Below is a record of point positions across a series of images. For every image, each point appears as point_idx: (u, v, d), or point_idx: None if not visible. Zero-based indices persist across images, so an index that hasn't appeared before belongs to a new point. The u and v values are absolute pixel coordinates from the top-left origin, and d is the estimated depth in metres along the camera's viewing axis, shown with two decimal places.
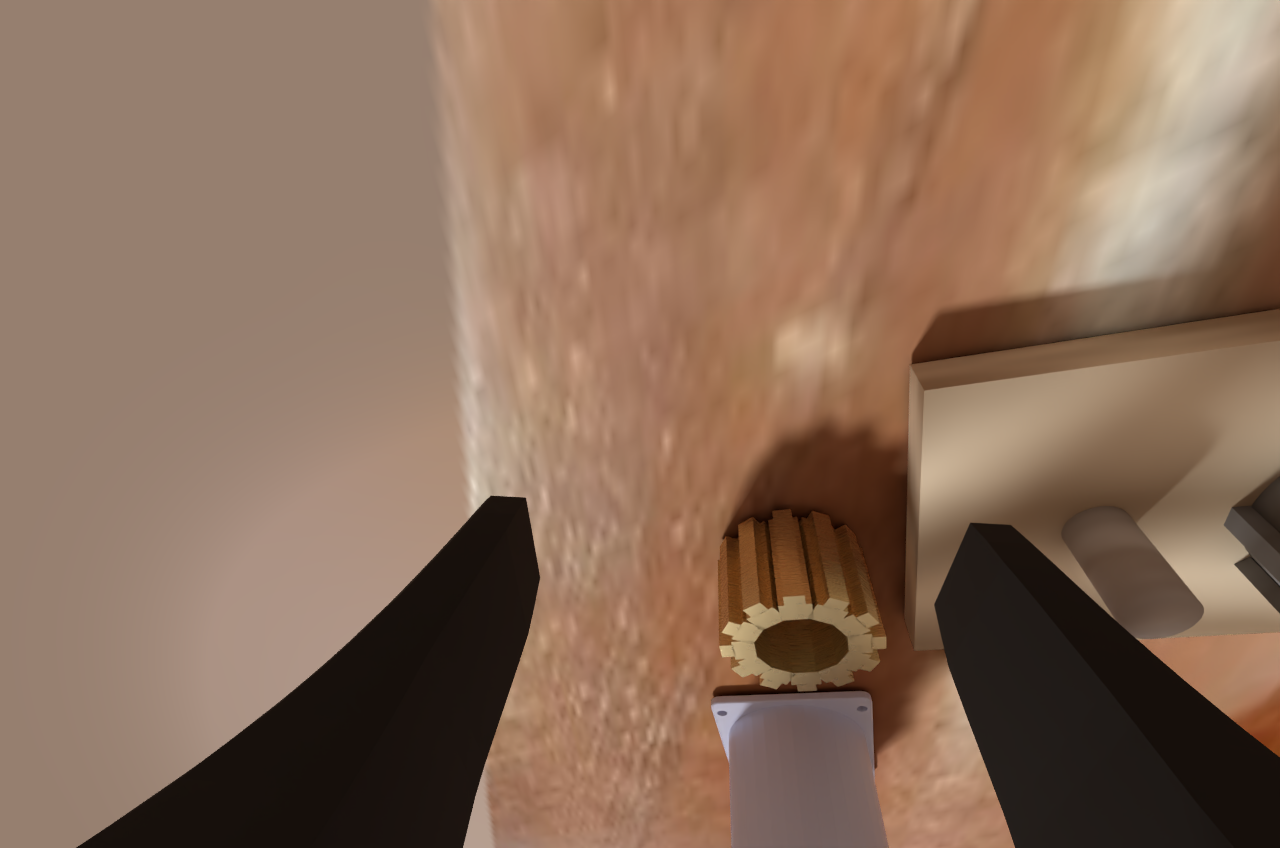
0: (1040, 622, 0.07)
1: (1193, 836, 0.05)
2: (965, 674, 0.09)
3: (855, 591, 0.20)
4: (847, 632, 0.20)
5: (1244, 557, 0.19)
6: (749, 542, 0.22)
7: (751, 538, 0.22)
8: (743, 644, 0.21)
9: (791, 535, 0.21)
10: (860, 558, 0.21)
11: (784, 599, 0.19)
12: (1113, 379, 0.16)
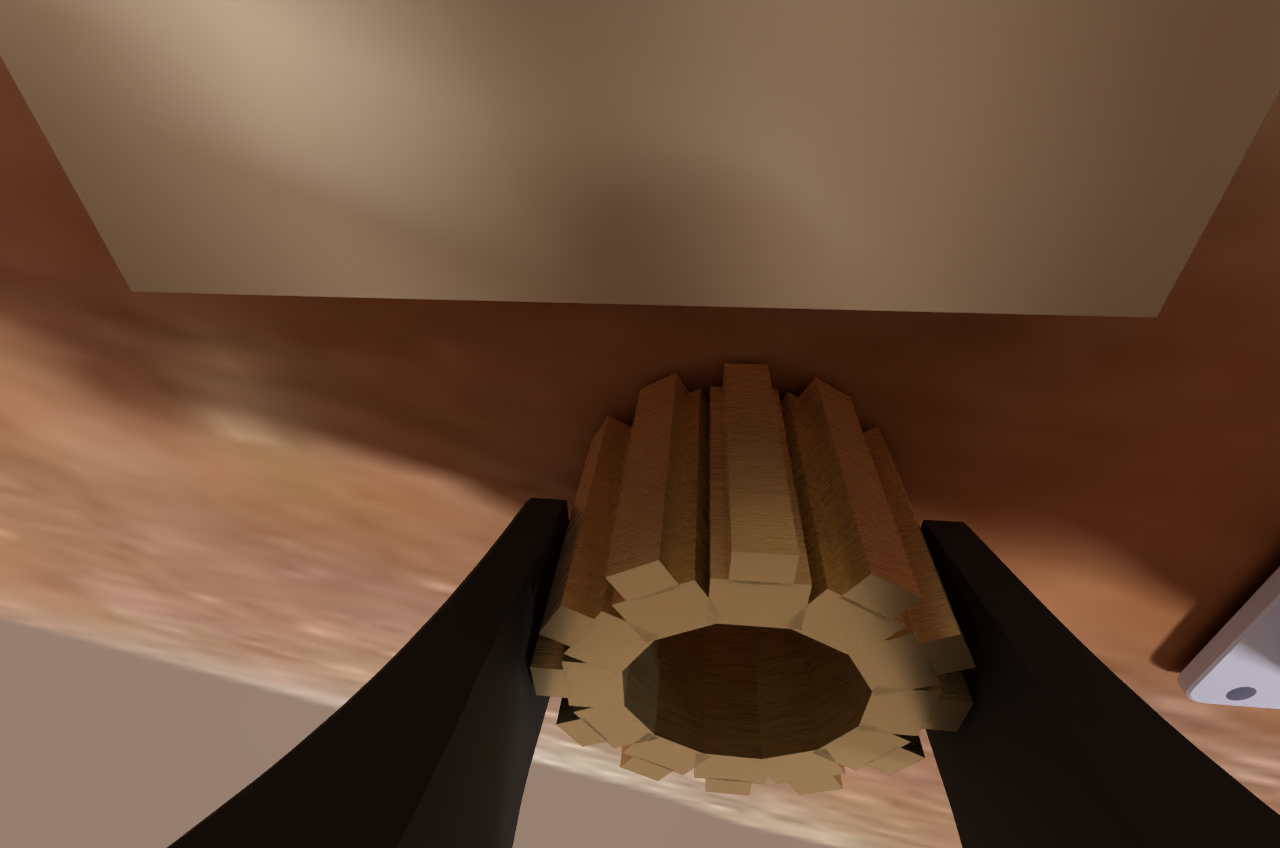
0: (982, 619, 0.07)
1: (1109, 827, 0.05)
2: None
3: None
4: (692, 621, 0.07)
5: None
6: None
7: None
8: (707, 766, 0.09)
9: None
10: (663, 421, 0.09)
11: (544, 694, 0.08)
12: None
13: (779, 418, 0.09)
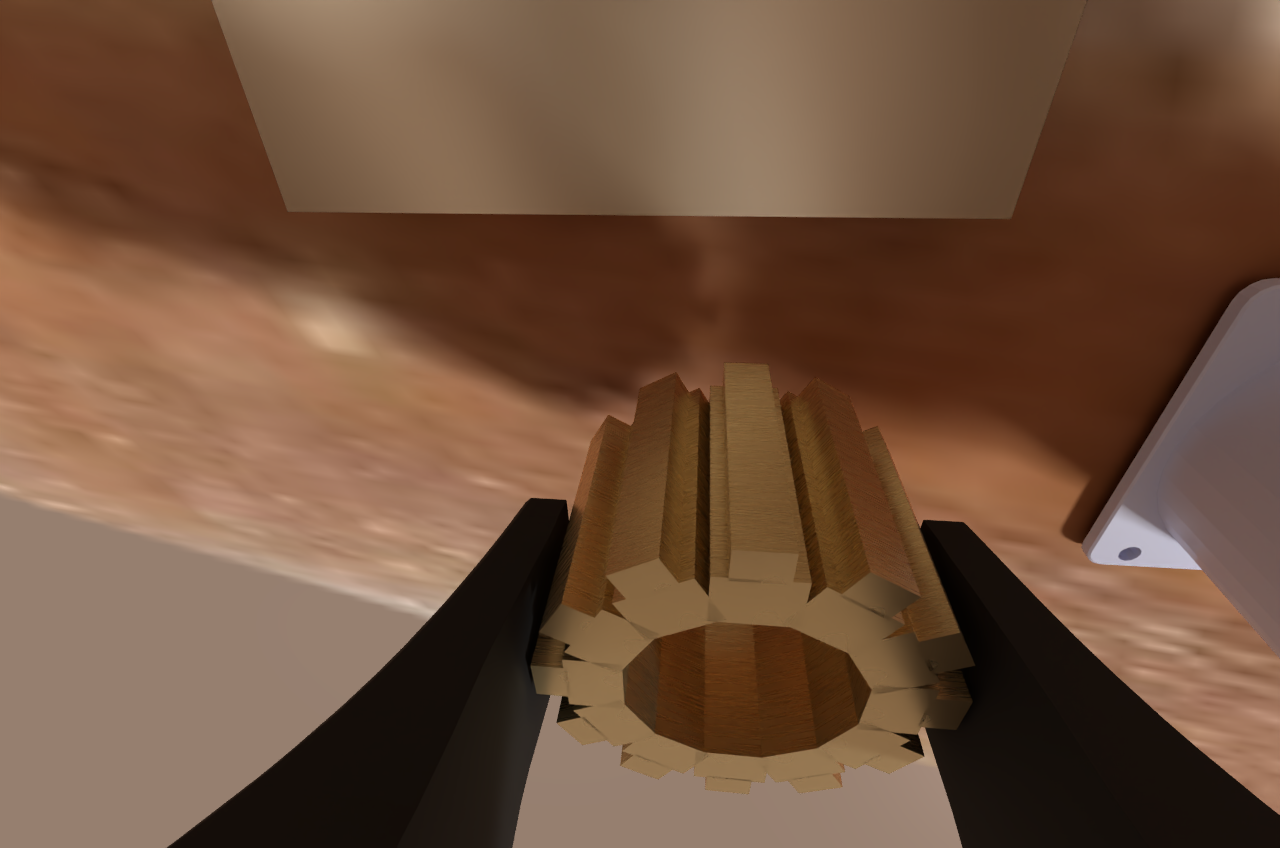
0: (982, 619, 0.07)
1: (1109, 827, 0.05)
2: None
3: None
4: (692, 620, 0.07)
5: None
6: None
7: None
8: (707, 764, 0.09)
9: None
10: (663, 420, 0.09)
11: (544, 693, 0.08)
12: None
13: (779, 417, 0.09)
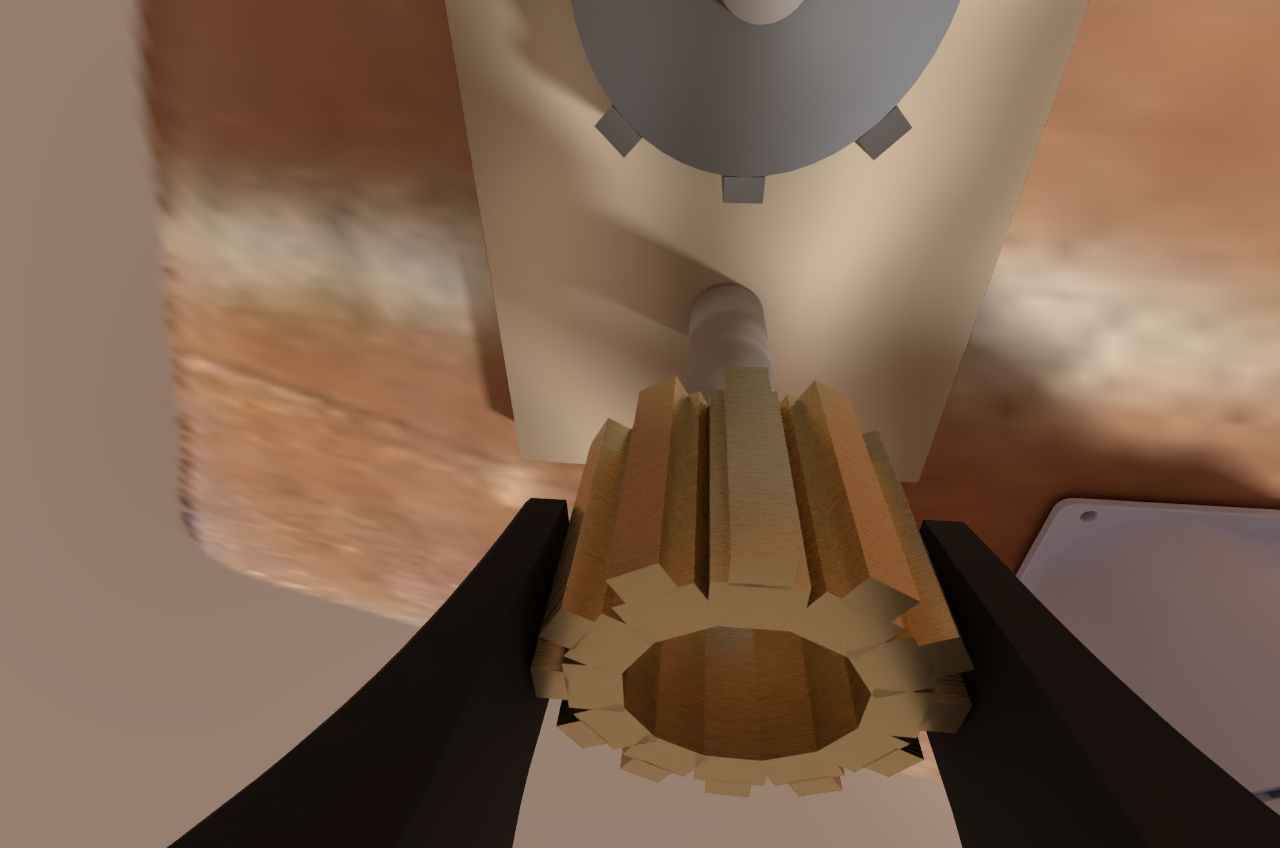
0: (982, 619, 0.07)
1: (1109, 828, 0.05)
2: None
3: None
4: (692, 624, 0.07)
5: None
6: None
7: None
8: (707, 767, 0.09)
9: None
10: (663, 424, 0.09)
11: (544, 696, 0.08)
12: (516, 329, 0.17)
13: (778, 421, 0.09)
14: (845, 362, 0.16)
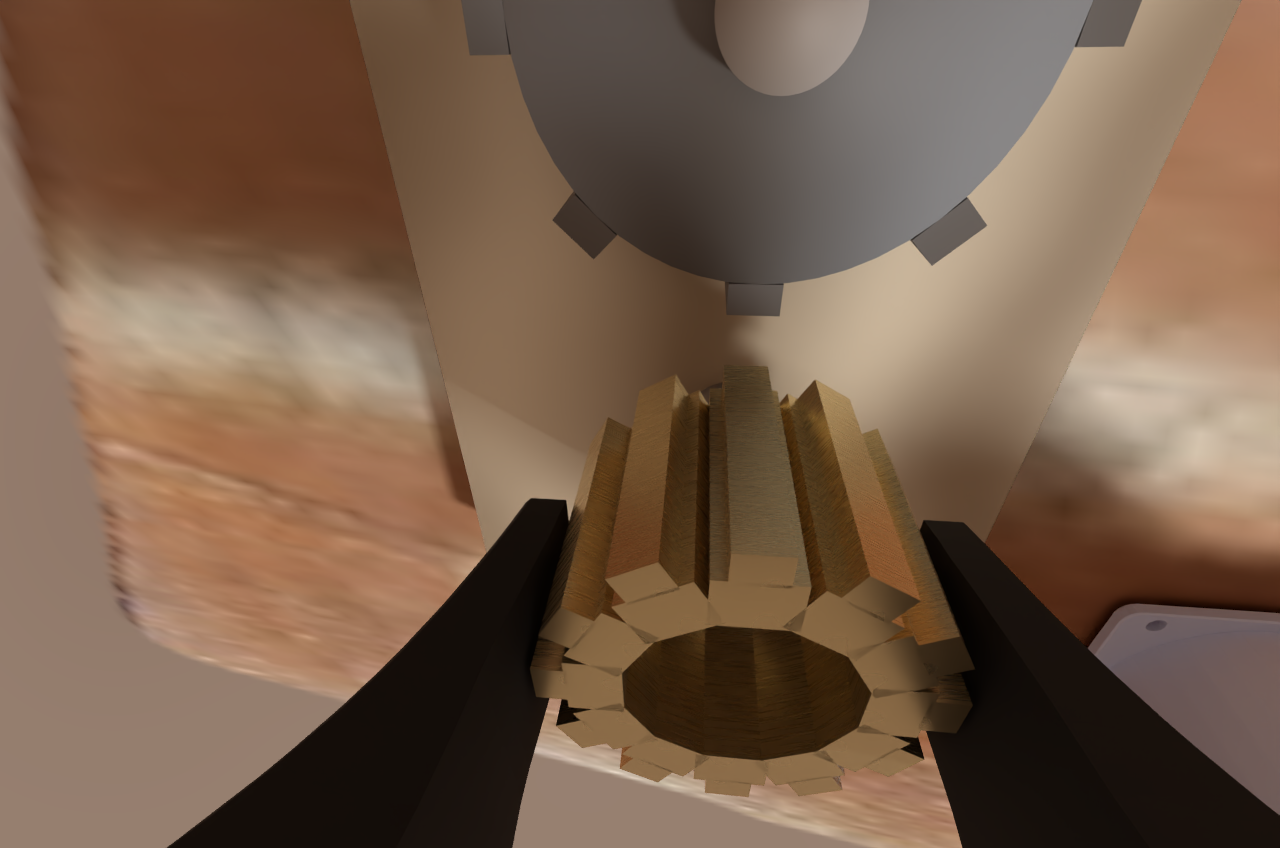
0: (981, 618, 0.07)
1: (1109, 827, 0.05)
2: None
3: None
4: (692, 623, 0.07)
5: None
6: None
7: None
8: (707, 767, 0.09)
9: None
10: (663, 423, 0.09)
11: (544, 696, 0.08)
12: (476, 429, 0.14)
13: (779, 420, 0.09)
14: None
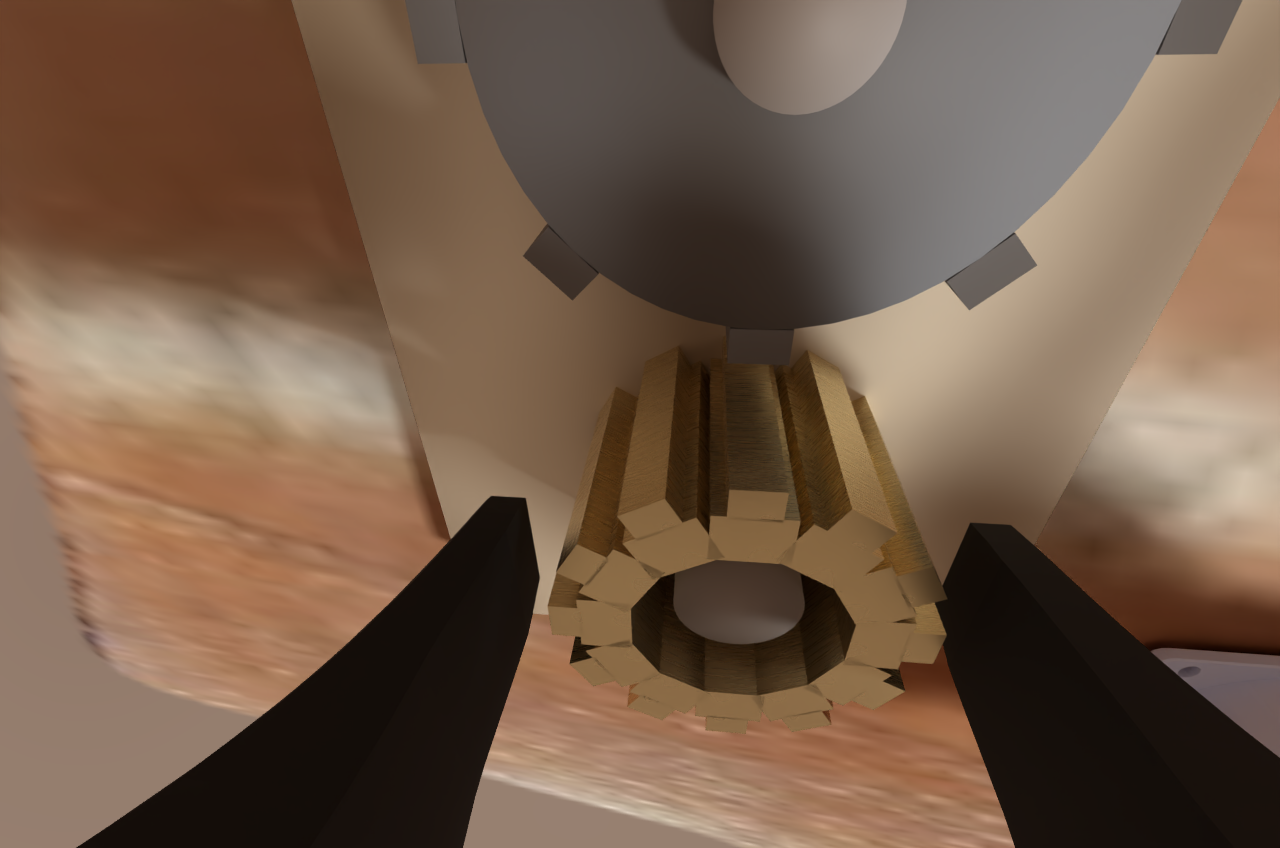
0: (1040, 623, 0.07)
1: (1193, 836, 0.05)
2: (965, 674, 0.09)
3: None
4: (694, 558, 0.08)
5: None
6: None
7: None
8: (707, 703, 0.10)
9: None
10: (667, 387, 0.09)
11: (559, 633, 0.09)
12: (452, 469, 0.13)
13: (773, 385, 0.10)
14: None
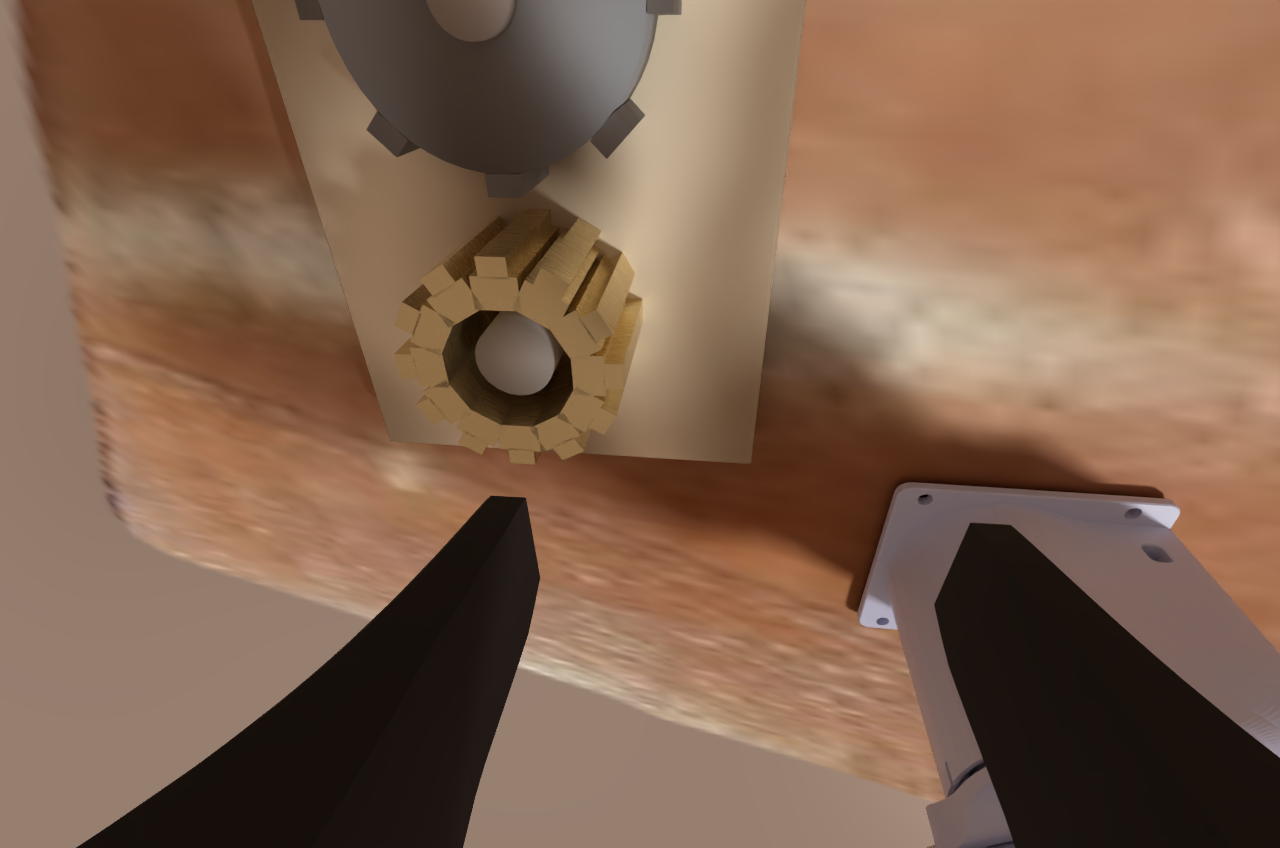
0: (1040, 623, 0.07)
1: (1193, 836, 0.05)
2: (965, 674, 0.09)
3: None
4: (468, 309, 0.13)
5: None
6: None
7: None
8: (505, 436, 0.15)
9: None
10: (479, 232, 0.15)
11: (405, 377, 0.15)
12: (366, 317, 0.18)
13: (550, 235, 0.15)
14: (662, 348, 0.18)
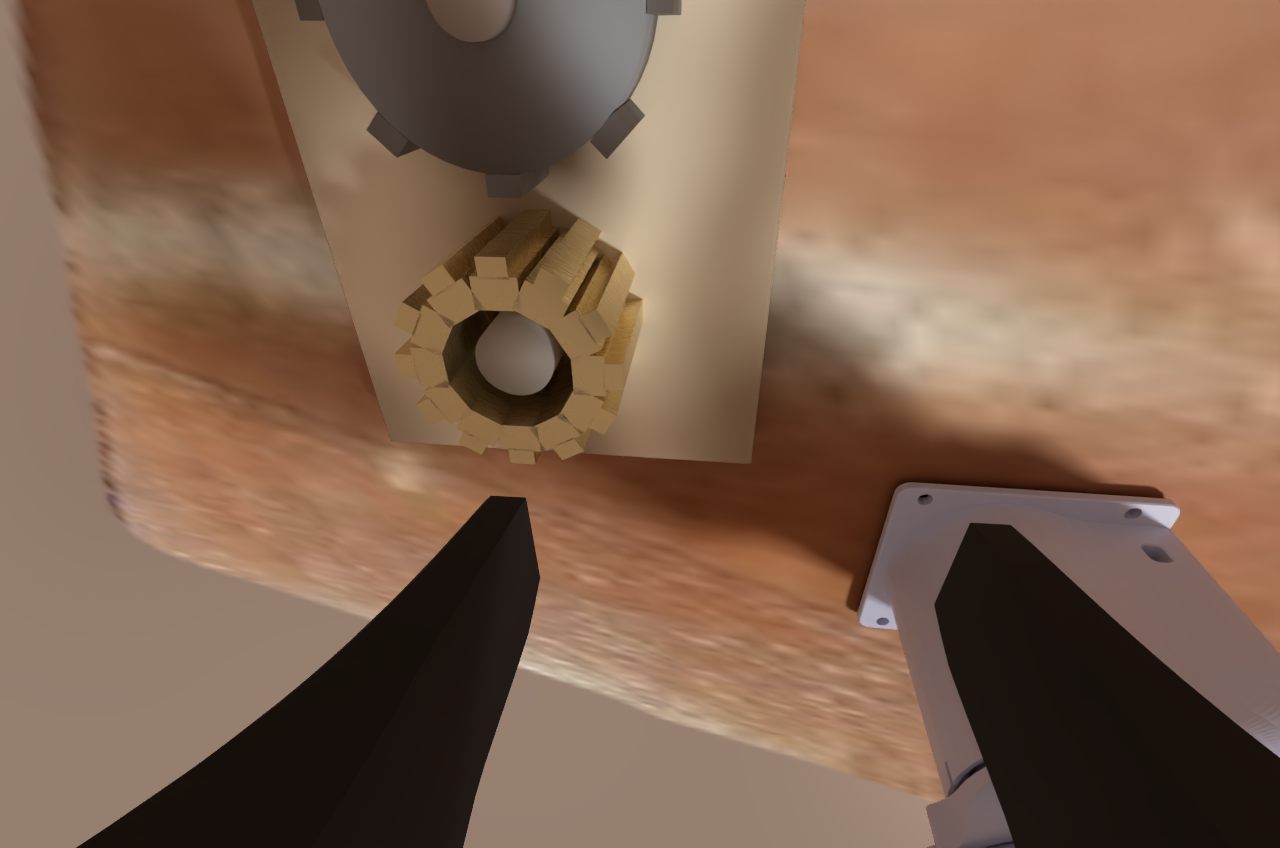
0: (1041, 623, 0.07)
1: (1193, 836, 0.05)
2: (965, 674, 0.09)
3: None
4: (468, 309, 0.13)
5: None
6: None
7: None
8: (505, 436, 0.15)
9: None
10: (479, 232, 0.15)
11: (405, 377, 0.15)
12: (366, 317, 0.18)
13: (550, 235, 0.15)
14: (662, 348, 0.18)
